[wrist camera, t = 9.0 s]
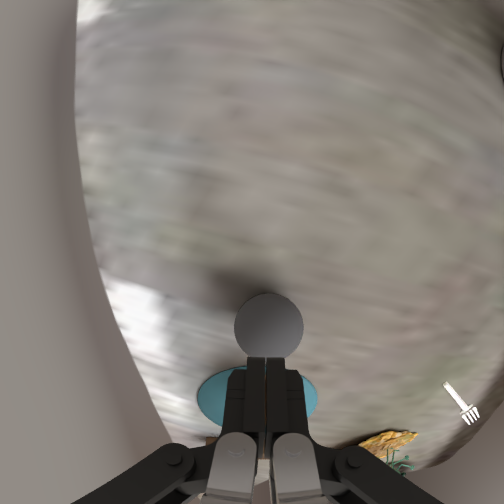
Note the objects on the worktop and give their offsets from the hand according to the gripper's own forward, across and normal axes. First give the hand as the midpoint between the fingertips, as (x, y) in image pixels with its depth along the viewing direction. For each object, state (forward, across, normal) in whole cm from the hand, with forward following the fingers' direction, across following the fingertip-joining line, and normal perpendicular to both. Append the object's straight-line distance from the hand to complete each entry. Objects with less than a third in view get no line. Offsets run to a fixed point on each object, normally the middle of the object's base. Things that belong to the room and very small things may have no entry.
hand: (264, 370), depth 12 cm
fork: (+14, -33, +27) cm, 45 cm away
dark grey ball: (+10, -1, +6) cm, 12 cm away
